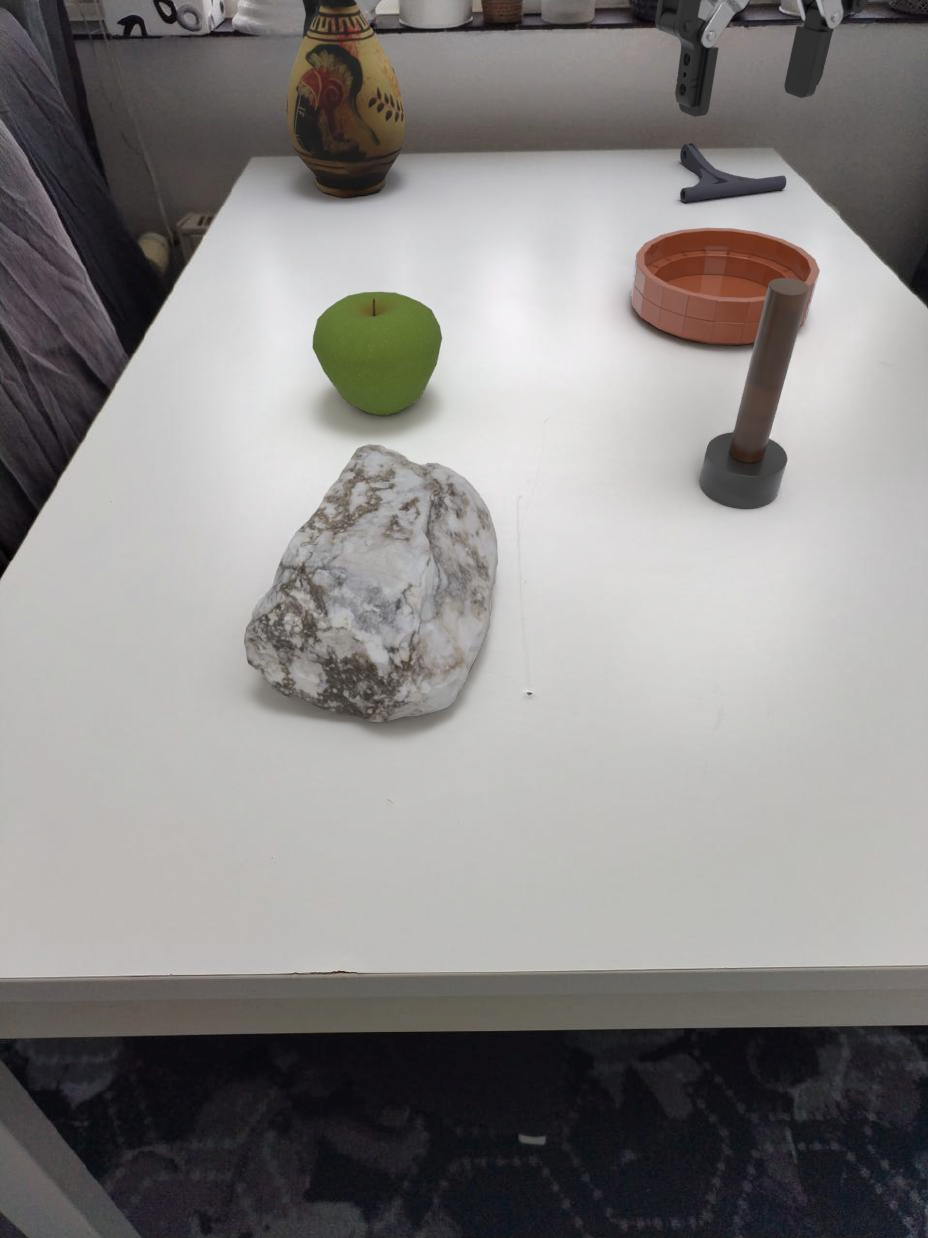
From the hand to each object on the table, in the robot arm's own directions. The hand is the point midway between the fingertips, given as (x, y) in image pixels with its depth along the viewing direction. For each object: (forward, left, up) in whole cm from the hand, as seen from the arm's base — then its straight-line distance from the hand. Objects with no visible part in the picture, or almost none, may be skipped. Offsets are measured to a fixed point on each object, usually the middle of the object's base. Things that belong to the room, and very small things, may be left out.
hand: (746, 103), depth 56 cm
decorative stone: (+27, +17, -25) cm, 40 cm away
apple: (+25, -10, -25) cm, 36 cm away
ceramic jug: (+23, -68, -25) cm, 76 cm away
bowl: (-11, -21, -25) cm, 34 cm away
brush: (-1, +8, -25) cm, 26 cm away
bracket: (-25, -58, -25) cm, 68 cm away
